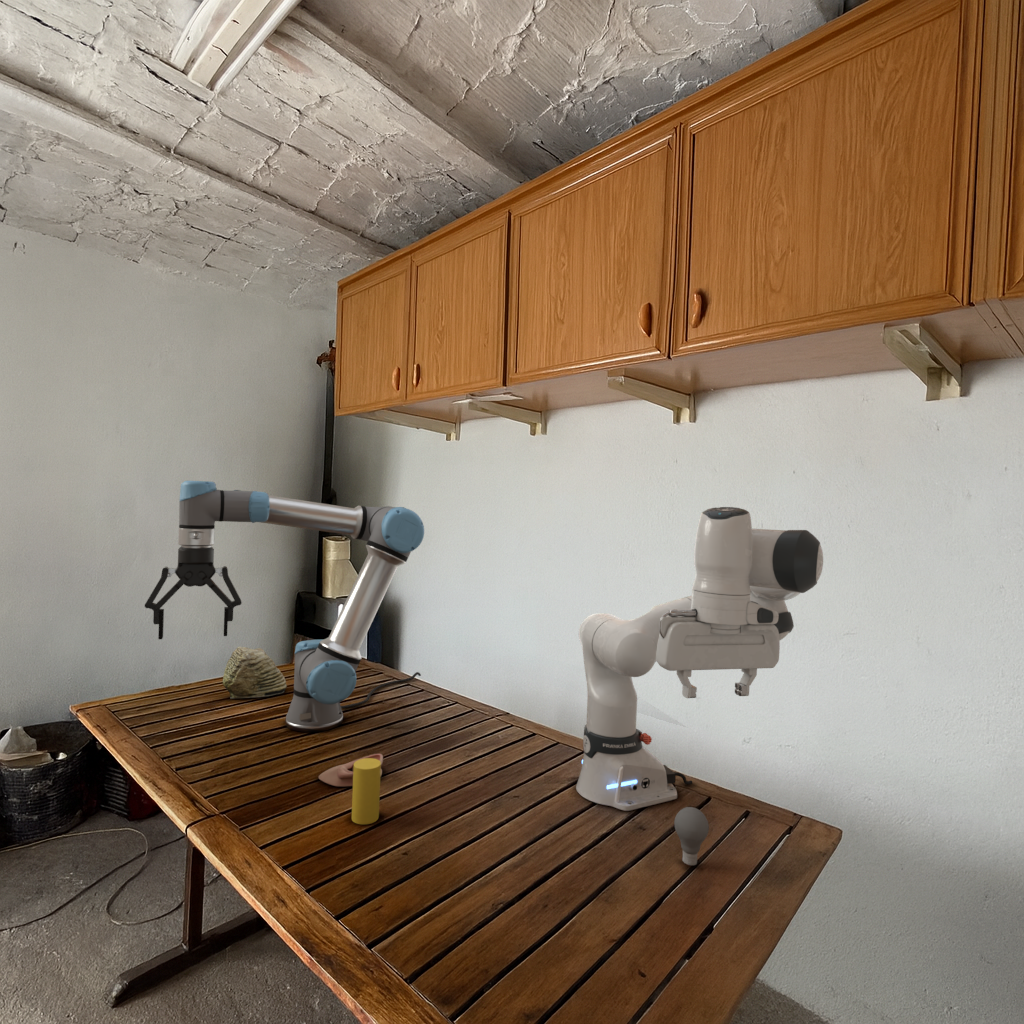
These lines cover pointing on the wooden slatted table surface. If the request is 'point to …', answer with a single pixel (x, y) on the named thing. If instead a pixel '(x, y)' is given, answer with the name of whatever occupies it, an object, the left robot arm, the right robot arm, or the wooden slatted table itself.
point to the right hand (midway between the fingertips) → (715, 696)
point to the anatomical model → (344, 772)
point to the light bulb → (691, 832)
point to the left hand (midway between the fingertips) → (193, 636)
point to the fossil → (252, 674)
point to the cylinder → (366, 791)
